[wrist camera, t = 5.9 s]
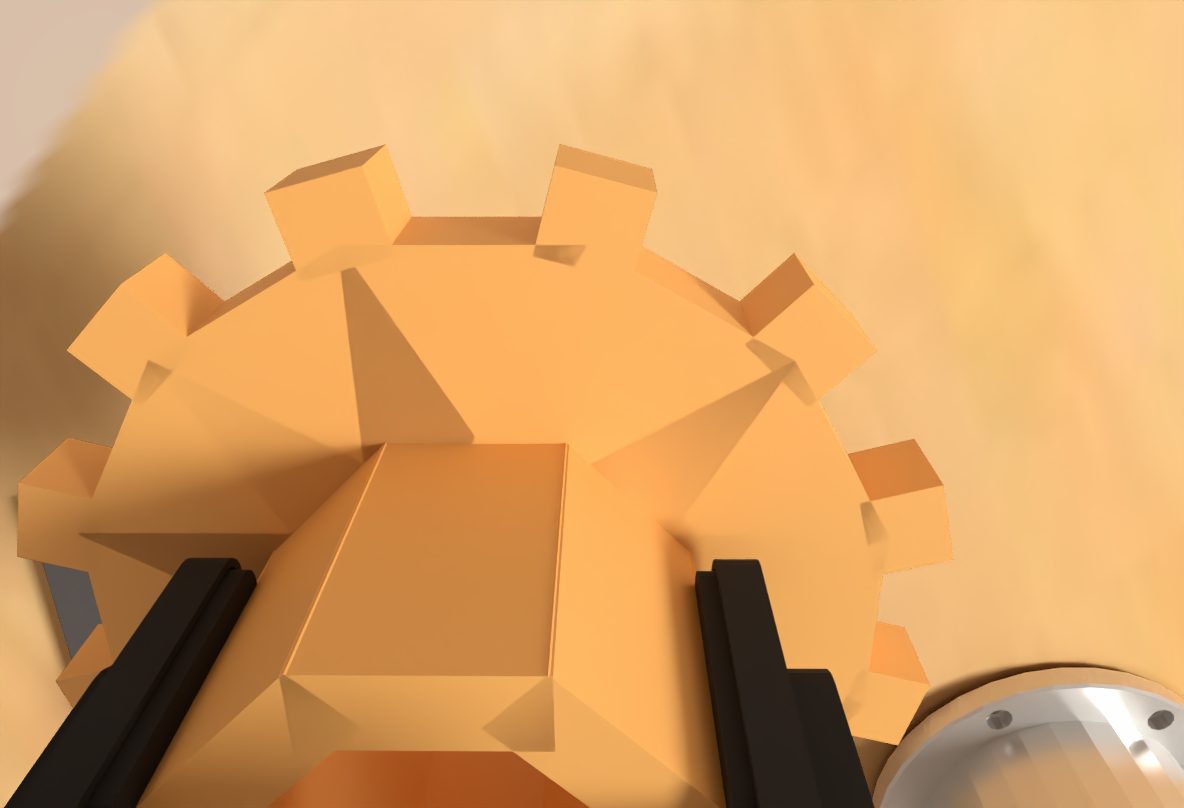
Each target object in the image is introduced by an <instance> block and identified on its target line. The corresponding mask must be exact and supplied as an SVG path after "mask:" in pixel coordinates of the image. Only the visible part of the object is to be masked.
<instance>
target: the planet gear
mask: <svg viewBox="0 0 1184 808" xmlns="http://www.w3.org/2000/svg"><path fill="white" fill-rule="evenodd" d="M264 195H265V197H266V200H267V202H268V204H269V207H270V209H271V212H272V214H273V216H274V219H275V221H276V224H277V226H278V228H279V231H280V233H281V236H282V238H283V240H284V243H285V245H286V248H287V250H288V252H289V255H290V257H291V260H292V261H291V262H289V263H287V264H286V265H284V266H283V267H281V268H279V269H278V270H276V271H274V272H273V273H271V274H269V275H268V276H266V277H264V278H263V279H261V280H260V281H258V282H256V283H255V284H253V285H251V286H250V287H248V288H246V289H245V290H243V291H241V292H240V293H238V294H237V295H235V296H233V297H232V298H230V299H228V300H227V301H223V300H222V299H221V298H220V297H218V296H217V295H216V294H215V293H214V292H212V291H211V290H210V289H209V288H207V287H206V286H205V285H204V284H203V283H201V282H200V281H199V280H198V279H196V278H195V277H194V276H193V275H192V274H190V273H189V272H188V271H187V270H185V269H184V268H183V267H182V266H181V265H179V264H178V263H177V262H176V261H174V260H173V259H172V258H171V257H170V256H168V255H167V254H166V253H165V254H164V255H162V256H161V257H159V258H158V259H156V260H155V261H153V262H152V263H151V264H149V265H148V266H146V267H145V268H143V269H142V270H140V271H139V272H138V273H136V274H135V275H133V276H132V277H130V278H129V279H127V280H126V281H125V282H123V283H122V284H120V285H119V287H118V288H117V289H116V290H115V292H114V293H113V294H112V295H111V297H110V298H109V299H108V300H107V301H106V303H105V304H104V305H103V306H102V308H101V309H100V310H99V311H98V312H97V314H96V315H95V316H94V317H93V319H92V320H91V321H90V322H89V323H88V325H87V326H86V327H85V328H84V330H83V331H82V332H81V333H80V334H79V336H78V337H77V338H76V339H75V341H74V342H73V343H72V344H71V345H70V347H69V348H68V349H67V351H68V352H69V353H71V354H72V355H73V356H75V357H76V358H77V359H79V360H80V361H81V362H83V363H84V364H85V365H86V366H88V367H89V368H90V369H92V370H93V371H94V372H96V373H97V374H98V375H100V376H101V377H102V378H104V379H105V380H106V381H108V382H109V383H110V384H112V385H113V386H114V387H116V388H117V389H118V390H120V391H121V392H122V393H124V394H125V395H126V396H128V397H129V398H130V399H131V400H132V401H131V404H130V406H129V409H128V411H127V414H126V416H125V419H124V421H123V423H122V426H121V428H120V431H119V433H118V436H117V438H116V441H115V443H114V446H113V448H112V447H108V446H103V445H99V444H94V443H90V442H86V441H81V440H77V439H72V438H67V439H66V440H65V441H64V442H63V443H62V444H60V445H59V446H58V447H57V448H56V449H55V450H54V451H53V452H52V453H51V454H49V455H48V456H47V457H46V458H45V459H44V460H43V461H42V462H41V463H40V464H38V465H37V466H36V467H35V468H34V469H33V470H32V471H31V472H30V473H29V474H28V475H26V476H25V477H24V478H23V479H22V480H21V481H20V482H19V483H18V547H17V557H21V558H26V559H30V560H35V561H40V562H44V563H49V564H54V565H58V566H63V567H68V568H72V569H77V570H82V571H86V572H88V573H89V577H90V580H91V584H92V588H93V591H94V595H95V599H96V602H97V606H98V610H99V613H100V617H101V621H102V624H98V625H97V627H96V628H95V629H94V631H93V632H92V633H91V635H90V636H89V637H88V639H87V640H86V641H85V643H84V644H83V645H82V647H81V648H80V649H79V651H78V652H77V653H76V655H75V656H74V657H73V659H72V660H71V661H70V663H69V664H68V665H67V667H66V668H65V669H64V671H63V672H62V673H61V675H60V676H59V677H58V679H57V680H56V682H57V684H58V685H59V687H60V689H61V690H62V692H63V693H64V695H65V696H66V698H67V699H68V701H69V702H70V704H71V706H72V707H73V708H74V707H75V705H76V704H77V702H78V701H79V699H80V698H81V697H82V695H83V694H84V692H85V691H86V689H87V688H88V687H89V685H90V684H91V682H92V681H93V679H94V678H95V677H96V676H97V675H98V674H99V673H100V672H101V671H102V670H103V669H105V668H107V667H109V666H112V664H113V663H114V661H115V660H116V658H117V657H118V655H119V654H120V653H121V651H122V650H123V648H124V647H125V645H126V644H127V642H128V641H129V639H130V638H131V636H132V635H133V634H134V632H135V631H136V629H137V628H138V626H139V625H140V623H141V622H142V620H143V619H144V618H145V616H146V615H147V613H148V612H149V610H150V609H151V607H152V606H153V604H154V603H155V602H156V600H157V599H158V597H159V596H160V594H161V593H162V591H163V590H164V588H165V587H166V585H167V584H168V583H169V581H170V580H171V578H172V577H173V575H174V574H175V572H176V571H177V569H178V568H179V567H180V565H181V564H182V563H183V562H184V561H185V559H188V558H235V559H237V560H238V561H239V563H240V565H241V568H242V570H252V571H253V573H254V574H255V577H256V581H257V586H256V587H255V589H254V591H253V593H252V595H251V597H250V598H249V600H248V602H247V604H246V606H245V608H244V609H243V611H242V613H241V615H240V617H239V619H238V620H237V622H236V624H235V626H234V628H233V630H232V631H231V633H230V635H229V637H228V639H227V641H226V642H225V644H224V646H223V648H222V650H221V652H220V653H219V655H218V657H217V659H216V661H215V663H214V664H213V666H212V668H211V670H210V672H209V674H208V675H207V677H206V679H205V681H204V683H203V685H202V686H201V688H200V690H199V692H198V694H197V696H196V697H195V699H194V701H193V703H192V705H191V707H190V708H189V710H188V712H187V714H186V716H185V718H184V719H183V721H182V723H181V725H180V727H179V729H178V730H177V732H176V734H175V736H174V738H173V740H172V741H171V743H170V745H169V747H168V749H167V751H166V752H165V754H164V756H163V758H162V760H161V762H160V763H159V765H158V767H157V769H156V771H155V773H154V774H153V776H152V778H151V780H150V782H149V784H148V785H147V787H146V789H145V791H144V793H143V795H142V796H141V798H140V800H139V802H138V804H137V806H136V807H135V808H726V802H725V795H724V787H723V780H722V773H721V766H720V759H719V752H718V745H717V738H716V731H715V724H714V717H713V710H712V703H711V696H710V689H709V682H708V675H707V668H706V661H705V654H704V647H703V640H702V633H701V626H700V619H699V612H698V605H697V598H696V591H695V576H696V571H711V570H712V563H713V560H714V559H758V560H759V562H760V564H761V568H762V572H763V576H764V580H765V584H766V588H767V592H768V595H769V599H770V603H771V607H772V611H773V615H774V619H775V623H776V627H777V631H778V635H779V639H780V643H781V647H782V651H783V655H784V659H785V662H786V666H787V669H828V670H829V671H830V672H831V674H832V676H833V679H834V681H835V684H836V687H837V690H838V693H839V696H840V699H841V703H842V706H843V709H844V712H845V715H846V719H847V722H848V725H849V728H850V731H851V734H852V736H856V737H861V738H866V739H870V740H875V741H880V742H884V743H889V744H894V745H899V743H900V741H901V739H902V737H903V735H904V733H905V732H906V730H907V728H908V726H909V724H910V722H911V720H912V718H913V717H914V715H915V713H916V711H917V709H918V707H919V705H920V703H921V701H922V700H923V698H924V696H925V694H926V692H927V690H928V688H929V686H930V684H929V681H928V679H927V677H926V675H925V672H924V670H923V668H922V666H921V663H920V661H919V659H918V657H917V654H916V652H915V650H914V648H913V645H912V643H911V641H910V639H909V636H908V634H907V632H906V630H905V628H904V627H899V626H895V625H891V624H886V623H882V622H877V621H876V619H877V612H878V606H879V599H880V592H881V586H882V579H883V574H888V573H893V572H898V571H902V570H907V569H912V568H917V567H921V566H926V565H931V564H936V563H940V562H945V561H950V560H954V559H953V552H952V544H951V537H950V530H949V522H948V515H947V507H946V500H945V493H944V485H943V484H942V482H941V480H940V479H939V477H938V476H937V474H936V473H935V471H934V469H933V468H932V466H931V465H930V463H929V462H928V460H927V458H926V457H925V455H924V454H923V452H922V450H921V449H920V447H919V446H918V444H917V443H916V441H915V439H912V440H908V441H903V442H899V443H894V444H890V445H886V446H881V447H877V448H872V449H868V450H864V451H859V452H855V453H850V454H847V452H846V450H845V448H844V446H843V444H842V443H841V441H840V439H839V437H838V435H837V433H836V431H835V429H834V428H833V426H832V424H831V422H830V420H829V418H828V416H827V414H826V413H825V411H824V409H823V407H822V405H821V403H820V401H819V399H820V398H821V397H822V396H823V395H824V394H826V393H827V392H828V391H829V390H831V389H832V388H833V387H834V386H835V385H837V384H838V383H839V382H840V381H841V380H843V379H844V378H845V377H846V376H848V375H849V374H850V373H851V372H852V371H854V370H855V369H856V368H857V367H858V366H860V365H861V364H862V363H863V362H865V361H866V360H867V359H868V358H869V357H871V356H872V355H873V354H874V353H875V352H877V350H876V348H875V347H874V345H873V344H872V342H871V341H870V339H869V338H868V336H867V335H866V334H865V332H864V331H863V329H862V328H861V326H860V325H859V323H858V322H857V320H856V319H855V317H854V316H853V314H852V313H851V312H850V311H849V310H848V309H847V308H846V307H845V306H844V305H843V304H842V303H841V302H840V301H839V300H838V299H837V297H836V296H835V295H834V294H833V293H832V292H831V291H830V290H829V289H828V288H827V287H826V286H825V285H824V284H823V283H822V282H821V281H820V279H819V278H818V277H817V276H816V275H815V274H814V273H813V272H812V271H811V270H810V269H809V268H808V267H807V266H806V265H805V264H804V263H803V261H802V260H801V259H800V258H799V257H798V256H797V255H796V254H795V253H794V254H792V255H791V256H790V257H789V258H788V259H787V260H786V261H785V262H784V263H782V264H781V265H780V266H779V267H778V268H777V269H776V270H775V271H773V272H772V273H771V274H770V275H769V276H768V277H767V278H766V279H765V280H763V281H762V282H761V283H760V284H759V285H758V286H757V287H756V288H754V289H753V290H752V291H751V292H750V293H749V294H748V295H747V296H745V297H744V298H743V299H742V300H741V301H740V302H739V301H738V300H736V299H734V298H732V297H730V296H729V295H727V294H725V293H723V292H722V291H720V290H718V289H716V288H715V287H713V286H711V285H709V284H708V283H706V282H704V281H702V280H701V279H699V278H697V277H695V276H693V275H692V274H690V273H688V272H686V271H685V270H683V269H681V268H679V267H678V266H676V265H674V264H672V263H671V262H669V261H667V260H665V259H664V258H662V257H660V256H658V255H656V254H655V253H653V252H651V251H649V250H648V249H646V248H644V247H642V243H643V240H644V236H645V233H646V230H647V226H648V223H649V219H650V216H651V213H652V209H653V206H654V202H655V199H656V196H657V189H656V185H655V180H654V175H653V171H652V169H650V168H646V167H642V166H639V165H635V164H631V163H628V162H624V161H620V160H617V159H613V158H609V157H605V156H602V155H598V154H594V153H591V152H587V151H583V150H580V149H576V148H572V147H568V146H565V145H561V144H560V145H559V149H558V153H557V157H556V161H555V165H554V169H553V174H552V178H551V182H550V186H549V190H548V194H547V198H546V202H545V206H544V210H543V214H542V217H412V216H411V214H410V211H409V208H408V205H407V202H406V200H405V197H404V194H403V191H402V188H401V186H400V183H399V180H398V177H397V174H396V171H395V169H394V166H393V163H392V160H391V157H390V155H389V152H388V149H387V146H386V145H382V146H379V147H375V148H372V149H368V150H365V151H361V152H358V153H354V154H350V155H347V156H343V157H340V158H336V159H333V160H329V161H326V162H322V163H319V164H315V165H312V166H308V167H304V168H301V169H297V170H296V171H294V172H293V173H291V174H290V175H289V176H287V177H286V178H285V179H283V180H282V181H280V182H279V183H278V184H276V185H275V186H273V187H272V188H271V189H269V190H268V191H266V192H265V193H264Z"/></svg>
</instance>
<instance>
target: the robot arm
mask: <svg viewBox="0 0 1184 808" xmlns="http://www.w3.org/2000/svg"><path fill="white" fill-rule="evenodd" d="M256 586H257V581H256V577H255V574H254V573H253V571H252V570H242V568H241V565H240V563H239V561H238V560H237V559H235V558H188V559H185V561H184V562H183V563H182V564H181V565H180V567H179V568H178V569H177V571H176V572H175V574H174V575H173V577H172V578H171V580H170V581H169V583H168V584H167V585H166V587H165V588H164V590H163V591H162V593H161V594H160V596H159V597H158V599H157V600H156V602H155V603H154V604H153V606H152V607H151V609H150V610H149V612H148V613H147V615H146V616H145V618H144V619H143V620H142V622H141V623H140V625H139V626H138V628H137V629H136V631H135V632H134V634H133V635H132V636H131V638H130V639H129V641H128V642H127V644H126V645H125V647H124V648H123V650H122V651H121V653H120V654H119V655H118V657H117V658H116V660H115V661H114V663H113V664H112V666H109V667H107V668H105V669H103V670H102V671H101V672H100V673H99V674H98V675H97V676H96V677H95V678H94V679H93V681H92V682H91V684H90V685H89V687H88V688H87V689H86V691H85V692H84V694H83V695H82V697H81V698H80V699H79V701H78V702H77V704H76V705H75V707H74V708H73V709H72V711H71V712H70V714H69V715H68V717H67V718H66V720H65V721H64V722H63V724H62V725H61V727H60V728H59V730H58V731H57V732H56V734H55V735H54V737H53V738H52V740H51V741H50V742H49V744H48V745H47V747H46V748H45V750H44V751H43V752H42V754H41V755H40V757H39V758H38V760H37V761H36V763H35V764H34V765H33V767H32V768H31V770H30V771H29V773H28V774H27V775H26V777H25V778H24V780H23V781H22V783H21V784H20V785H19V787H18V788H17V790H16V791H15V793H14V794H13V795H12V797H11V798H10V800H9V801H8V803H7V804H6V806H5V807H4V808H135V807H136V806H137V804H138V802H139V800H140V798H141V796H142V795H143V793H144V791H145V789H146V787H147V785H148V784H149V782H150V780H151V778H152V776H153V774H154V773H155V771H156V769H157V767H158V765H159V763H160V762H161V760H162V758H163V756H164V754H165V752H166V751H167V749H168V747H169V745H170V743H171V741H172V740H173V738H174V736H175V734H176V732H177V730H178V729H179V727H180V725H181V723H182V721H183V719H184V718H185V716H186V714H187V712H188V710H189V708H190V707H191V705H192V703H193V701H194V699H195V697H196V696H197V694H198V692H199V690H200V688H201V686H202V685H203V683H204V681H205V679H206V677H207V675H208V674H209V672H210V670H211V668H212V666H213V664H214V663H215V661H216V659H217V657H218V655H219V653H220V652H221V650H222V648H223V646H224V644H225V642H226V641H227V639H228V637H229V635H230V633H231V631H232V630H233V628H234V626H235V624H236V622H237V620H238V619H239V617H240V615H241V613H242V611H243V609H244V608H245V606H246V604H247V602H248V600H249V598H250V597H251V595H252V593H253V591H254V589H255V587H256ZM695 591H696V598H697V605H698V612H699V619H700V626H701V633H702V640H703V647H704V654H705V661H706V668H707V675H708V682H709V689H710V696H711V703H712V710H713V717H714V724H715V731H716V738H717V745H718V752H719V759H720V766H721V773H722V780H723V787H724V795H725V802H726V808H1184V699H1183V698H1182V697H1180V696H1178V695H1177V694H1175V693H1173V692H1172V691H1170V690H1168V689H1167V688H1165V687H1163V686H1162V685H1160V684H1158V683H1156V682H1153V681H1150V680H1147V679H1145V678H1142V677H1139V676H1136V675H1133V674H1130V673H1126V672H1120V671H1113V670H1107V669H1101V668H1054V669H1047V670H1040V671H1033V672H1026V673H1022V674H1018V675H1015V676H1011V677H1008V678H1004V679H1001V680H997V681H994V682H991V683H988V684H986V685H984V686H981V687H979V688H977V689H975V690H972V691H970V692H968V693H966V694H963V695H961V696H959V697H957V698H956V699H954V700H953V701H951V702H949V703H948V704H946V705H945V706H943V707H941V708H940V709H938V710H937V711H935V712H934V713H932V714H930V715H929V716H928V717H927V718H926V719H925V720H923V721H922V722H921V723H920V724H919V725H918V726H917V727H916V728H914V729H913V730H912V731H911V732H910V733H909V734H908V735H907V736H906V737H905V738H904V739H903V740H902V742H901V743H900V744H899V746H898V747H897V748H896V749H895V751H894V752H893V753H892V754H891V756H890V757H889V758H888V760H887V762H886V764H885V766H884V768H883V770H882V772H881V774H880V776H879V778H878V780H877V782H876V786H875V791H874V795H873V799H872V798H871V795H870V792H869V789H868V785H867V782H866V779H865V776H864V773H863V769H862V766H861V763H860V760H859V757H858V754H857V750H856V747H855V744H854V741H853V738H852V734H851V731H850V728H849V725H848V722H847V719H846V715H845V712H844V709H843V706H842V703H841V699H840V696H839V693H838V690H837V687H836V684H835V681H834V679H833V676H832V674H831V672H830V671H829V670H828V669H787V666H786V662H785V659H784V655H783V651H782V647H781V643H780V639H779V635H778V631H777V627H776V623H775V619H774V615H773V611H772V607H771V603H770V599H769V595H768V592H767V588H766V584H765V580H764V576H763V572H762V568H761V564H760V562H759V560H758V559H714V560H713V563H712V570H711V571H696V576H695Z"/></svg>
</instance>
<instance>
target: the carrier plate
mask: <svg viewBox="0 0 1184 808" xmlns="http://www.w3.org/2000/svg"><path fill="white" fill-rule="evenodd" d="M43 566H44V569H45V572H46V576H47V579H48V582H49V586H50V589H51V592H52V596H53V599H54V602H55V606H56V609H57V612H58V616H59V619H60V622H61V626H62V629H63V632H64V636H65V639H66V642H67V646H68V649H69V652H70V656H71V659H73V657H74V656H75V655H76V653H77V652H78V651H79V649H80V648H81V647H82V645H83V644H84V643H85V641H86V640H87V639H88V637H89V636H90V635H91V633H92V632H93V631H94V629H95V628H96V627H97V625H98V624H102V621H101V617H100V613H99V610H98V606H97V602H96V599H95V595H94V591H93V588H92V584H91V580H90V577H89V573H88V572H86V571H82V570H77V569H72V568H68V567H63V566H58V565H54V564H49V563H44V562H43Z"/></svg>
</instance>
